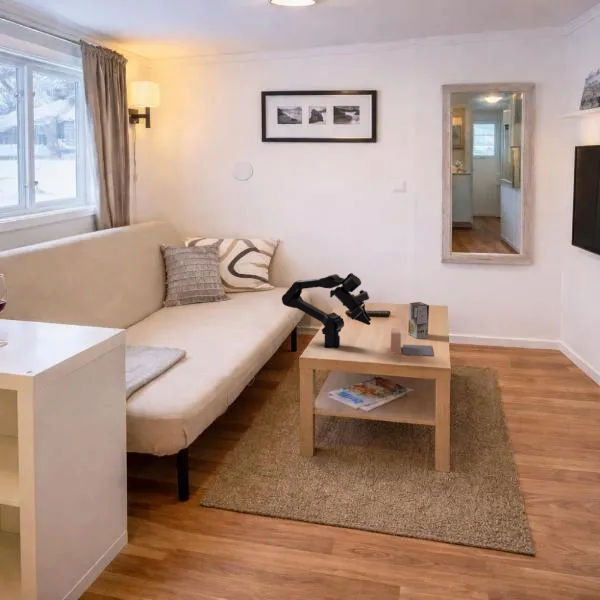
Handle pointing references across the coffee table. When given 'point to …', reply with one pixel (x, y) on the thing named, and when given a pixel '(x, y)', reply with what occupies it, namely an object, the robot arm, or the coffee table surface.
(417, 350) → the mat
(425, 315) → the coffee box
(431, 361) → the coffee table surface
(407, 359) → the coffee table surface
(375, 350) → the coffee table surface
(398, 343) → the pinkish brown block
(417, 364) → the coffee table surface
